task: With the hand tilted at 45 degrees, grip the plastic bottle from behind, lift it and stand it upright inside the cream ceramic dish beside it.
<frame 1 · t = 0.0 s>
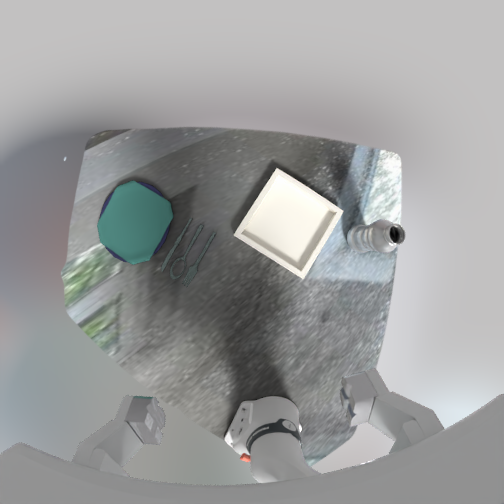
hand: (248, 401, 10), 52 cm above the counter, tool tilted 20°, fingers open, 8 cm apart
cutlery set: (150, 232, 63), on the counter
ceramic dish: (288, 223, 62), on the counter
plastic bottle: (356, 239, 62), on the counter
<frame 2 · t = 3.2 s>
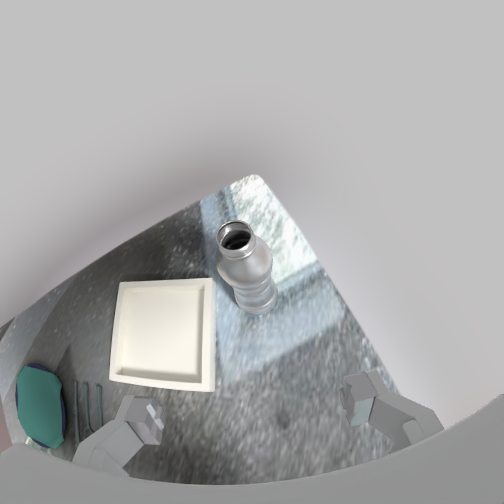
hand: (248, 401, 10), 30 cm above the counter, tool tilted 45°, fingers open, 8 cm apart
cutlery set: (56, 411, 38), on the counter
ceramic dish: (164, 335, 43), on the counter
plastic bottle: (258, 299, 44), on the counter
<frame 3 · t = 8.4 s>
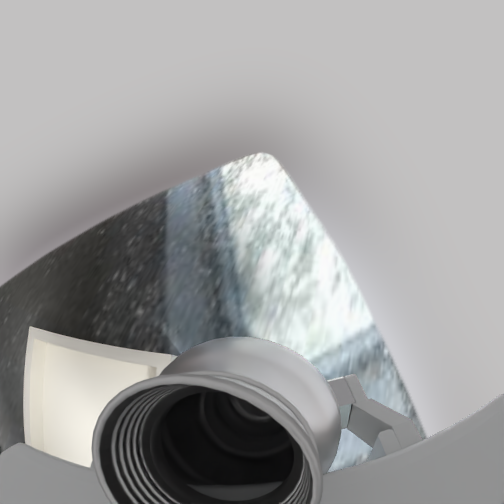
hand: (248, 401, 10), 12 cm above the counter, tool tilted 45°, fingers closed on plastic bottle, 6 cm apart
ceramic dish: (96, 428, 19), on the counter
plastic bottle: (261, 395, 21), on the counter, touching gripper
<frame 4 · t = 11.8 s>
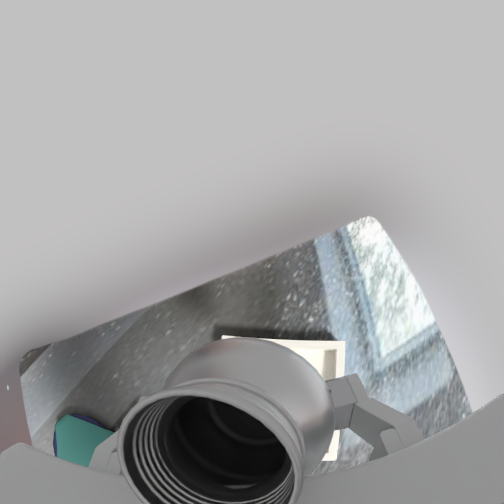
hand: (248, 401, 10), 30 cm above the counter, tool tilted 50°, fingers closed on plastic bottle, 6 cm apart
cutlery set: (114, 469, 31), on the counter
ceramic dish: (278, 400, 36), on the counter
plastic bottle: (267, 383, 22), point 17 cm above the counter, touching gripper
when the fingers open (14 cm above the counter, at t = 15.4 s): plastic bottle stays where it is, resting on ceramic dish.
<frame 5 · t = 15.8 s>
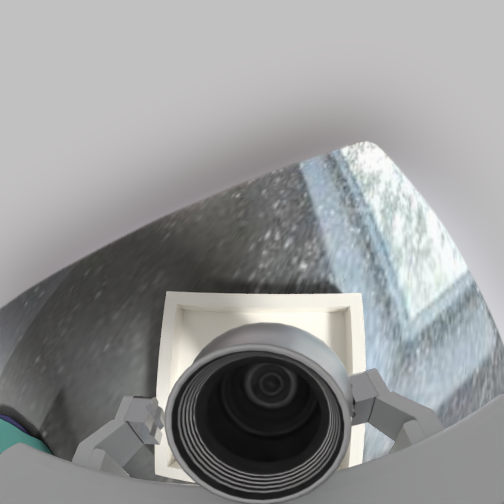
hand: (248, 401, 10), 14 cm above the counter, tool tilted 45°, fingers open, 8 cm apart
cutlery set: (50, 487, 16), on the counter
ceramic dish: (261, 394, 23), on the counter
plastic bottle: (271, 383, 22), point 1 cm above the counter, touching ceramic dish, gripper
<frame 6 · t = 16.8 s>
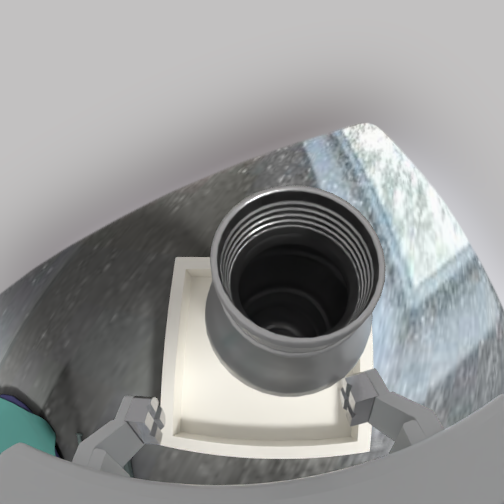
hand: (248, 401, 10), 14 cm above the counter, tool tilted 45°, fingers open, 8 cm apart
cutlery set: (52, 469, 18), on the counter
ceramic dish: (268, 359, 24), on the counter
plastic bottle: (278, 348, 24), point 1 cm above the counter, touching ceramic dish
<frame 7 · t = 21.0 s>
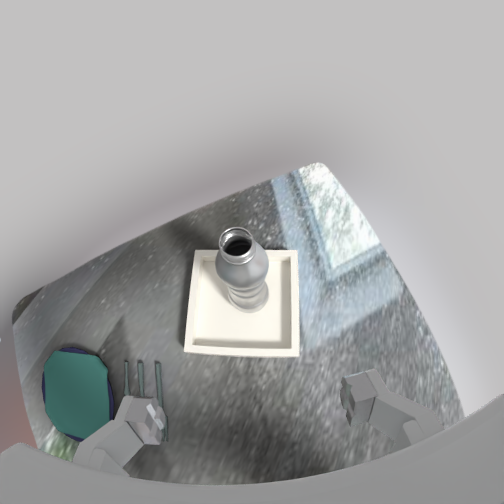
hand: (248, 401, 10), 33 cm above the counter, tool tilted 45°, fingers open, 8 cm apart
cutlery set: (98, 399, 40), on the counter
ceramic dish: (244, 304, 46), on the counter
plastic bottle: (249, 298, 46), point 1 cm above the counter, touching ceramic dish
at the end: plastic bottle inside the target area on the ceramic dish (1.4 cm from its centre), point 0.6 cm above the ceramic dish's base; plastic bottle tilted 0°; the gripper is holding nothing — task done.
